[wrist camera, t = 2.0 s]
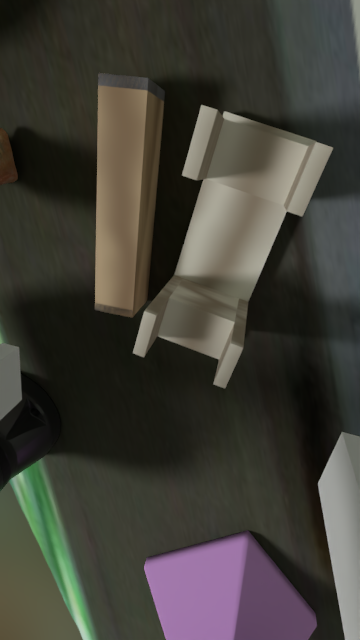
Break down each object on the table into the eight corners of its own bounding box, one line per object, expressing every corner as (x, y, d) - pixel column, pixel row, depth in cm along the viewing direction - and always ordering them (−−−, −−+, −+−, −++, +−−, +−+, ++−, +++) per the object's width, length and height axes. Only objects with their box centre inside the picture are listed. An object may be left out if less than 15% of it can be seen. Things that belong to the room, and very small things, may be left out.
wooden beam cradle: (165, 311, 39) (129, 362, 29) (226, 113, 30) (206, 85, 20) (232, 336, 38) (220, 398, 28) (314, 142, 29) (342, 128, 19)
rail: (114, 293, 39) (94, 309, 35) (122, 86, 31) (98, 72, 26) (147, 300, 39) (132, 317, 34) (165, 91, 30) (148, 77, 26)
